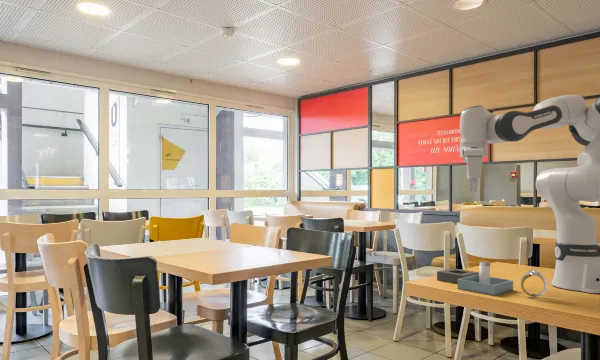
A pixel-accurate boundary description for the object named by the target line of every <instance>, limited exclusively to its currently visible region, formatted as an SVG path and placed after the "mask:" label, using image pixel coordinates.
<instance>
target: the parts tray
mask: <svg viewBox="0 0 600 360" xmlns="http://www.w3.org/2000/svg"><path fill="white" fill-rule="evenodd" d="M457 289H458V290H463V291H468V292H472V291H473V293H478V292H479V293H478V294H483V293H484V294H483V295H488V294H489V296H493V295H494V296H495V297H496V296H498V295H501V294H502V295H503V294H505V293H508V292H512V291H513V290H514V280H513V279H506V278H502V277H501V278H500V277H493V276H490V284H485V283H479V275H473V276H469V277H465V278H461V279H458V284H457ZM494 296H493V297H494Z"/></svg>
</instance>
